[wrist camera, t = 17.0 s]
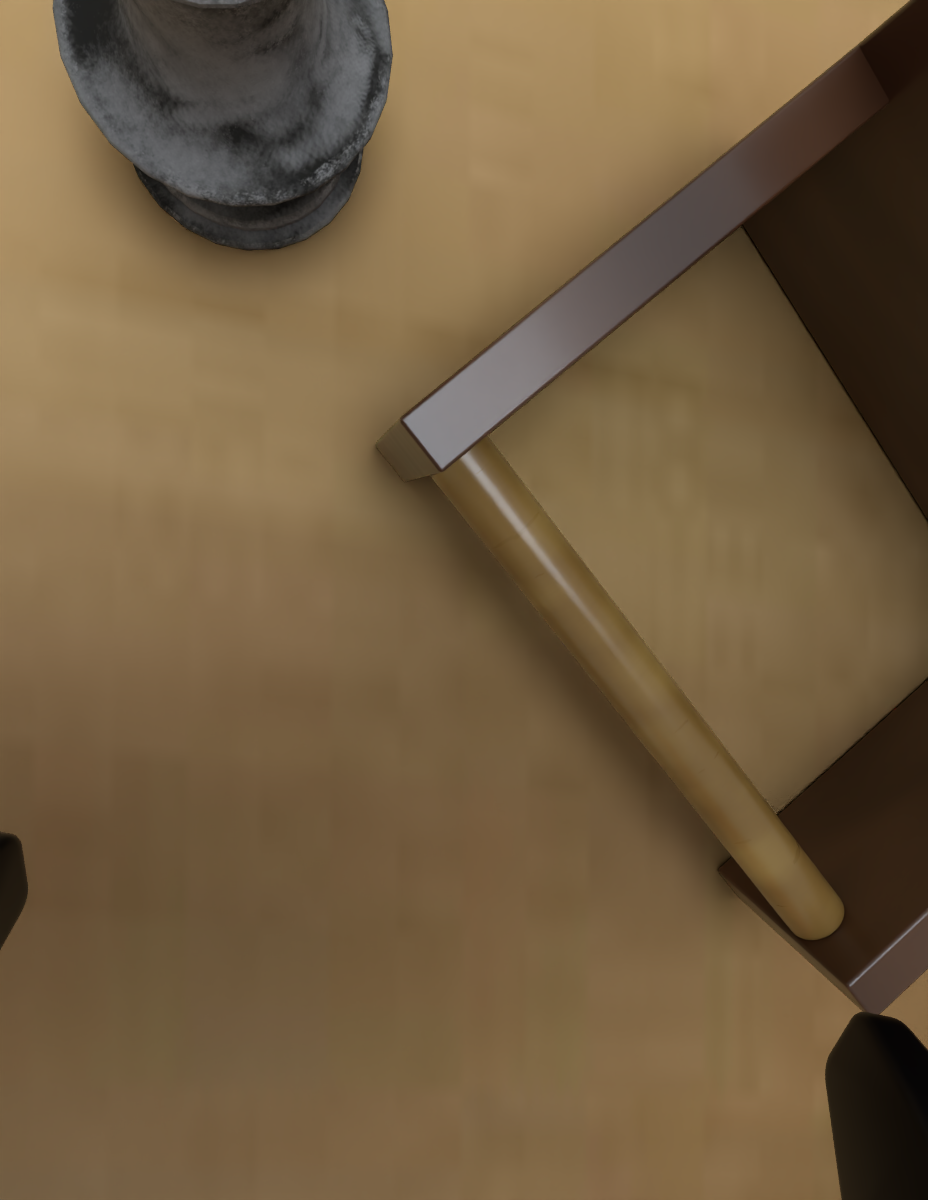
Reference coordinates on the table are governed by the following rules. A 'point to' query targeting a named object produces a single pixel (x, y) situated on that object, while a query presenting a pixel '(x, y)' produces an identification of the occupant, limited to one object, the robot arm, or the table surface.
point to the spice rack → (888, 404)
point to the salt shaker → (234, 104)
